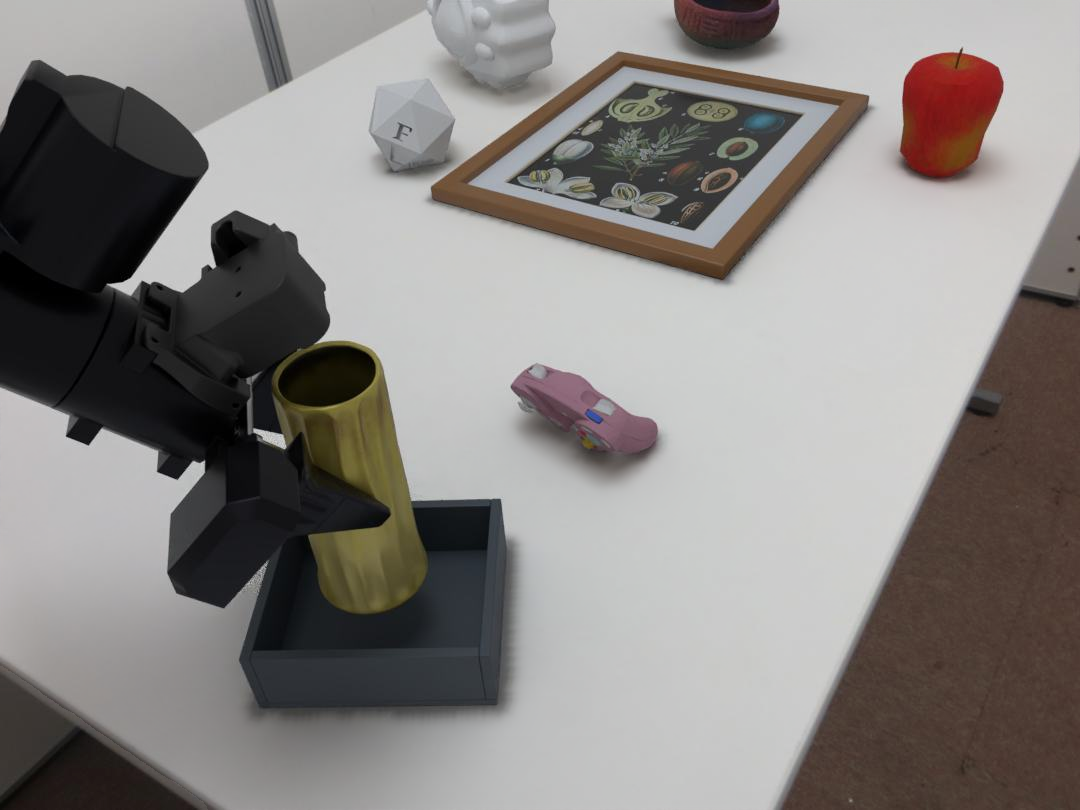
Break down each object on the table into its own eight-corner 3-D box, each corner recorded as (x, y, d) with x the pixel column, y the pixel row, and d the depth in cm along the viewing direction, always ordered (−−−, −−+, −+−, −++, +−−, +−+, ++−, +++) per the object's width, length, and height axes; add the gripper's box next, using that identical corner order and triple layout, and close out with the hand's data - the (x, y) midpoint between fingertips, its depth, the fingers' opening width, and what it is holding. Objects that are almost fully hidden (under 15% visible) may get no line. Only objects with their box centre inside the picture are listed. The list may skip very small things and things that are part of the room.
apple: (996, 161, 96) (1028, 41, 88) (958, 195, 91) (989, 72, 84) (913, 138, 100) (937, 22, 93) (873, 170, 96) (895, 50, 88)
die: (357, 167, 104) (350, 119, 94) (392, 99, 106) (388, 45, 97) (431, 199, 104) (432, 154, 94) (464, 129, 106) (468, 79, 97)
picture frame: (429, 186, 95) (617, 50, 119) (431, 199, 96) (617, 62, 120) (723, 265, 82) (870, 94, 106) (722, 280, 83) (867, 107, 106)
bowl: (787, 30, 125) (794, -36, 120) (762, 68, 116) (768, -1, 111) (666, 19, 130) (668, -45, 125) (634, 55, 121) (634, -12, 116)
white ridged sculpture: (493, 48, 126) (481, -87, 115) (572, 92, 114) (566, -54, 104) (417, 70, 122) (397, -68, 111) (491, 118, 110) (477, -31, 99)
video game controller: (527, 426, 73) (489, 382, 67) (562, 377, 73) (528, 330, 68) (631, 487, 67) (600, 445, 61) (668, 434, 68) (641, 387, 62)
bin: (259, 708, 54) (238, 660, 51) (300, 552, 62) (284, 503, 59) (497, 704, 53) (490, 656, 50) (506, 547, 62) (501, 498, 59)
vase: (406, 517, 58) (367, 320, 49) (445, 590, 54) (411, 389, 44) (306, 555, 56) (246, 358, 47) (338, 633, 52) (279, 433, 42)
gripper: (171, 341, 32) (521, 507, 41) (188, 111, 46) (446, 272, 55) (12, 553, 36) (362, 662, 45) (72, 282, 50) (330, 406, 58)
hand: (379, 479), depth 50 cm, fingers closed on vase, 5 cm apart
